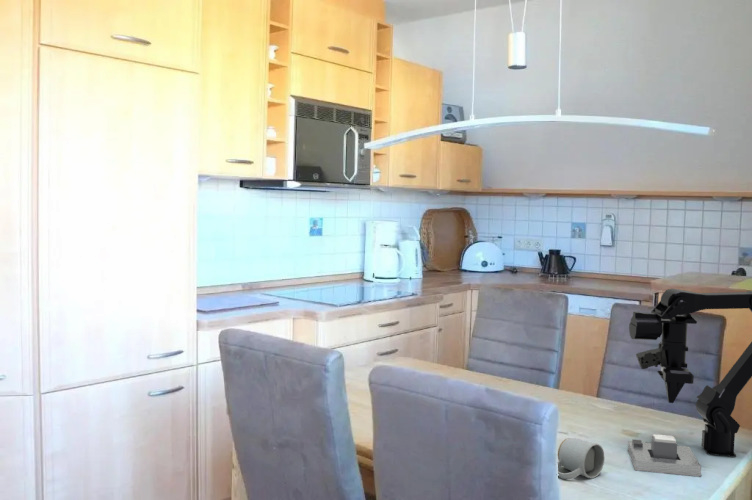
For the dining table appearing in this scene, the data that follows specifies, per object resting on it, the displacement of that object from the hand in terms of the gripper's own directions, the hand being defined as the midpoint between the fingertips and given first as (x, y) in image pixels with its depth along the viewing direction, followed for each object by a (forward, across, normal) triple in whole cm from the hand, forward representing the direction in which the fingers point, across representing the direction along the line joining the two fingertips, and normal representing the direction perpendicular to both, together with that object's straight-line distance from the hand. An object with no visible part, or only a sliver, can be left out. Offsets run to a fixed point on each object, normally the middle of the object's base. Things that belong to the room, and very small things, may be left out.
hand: (670, 402), depth 174 cm
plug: (+12, +11, -3) cm, 17 cm away
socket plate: (+12, +10, -3) cm, 16 cm away
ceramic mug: (+12, +22, -23) cm, 35 cm away
